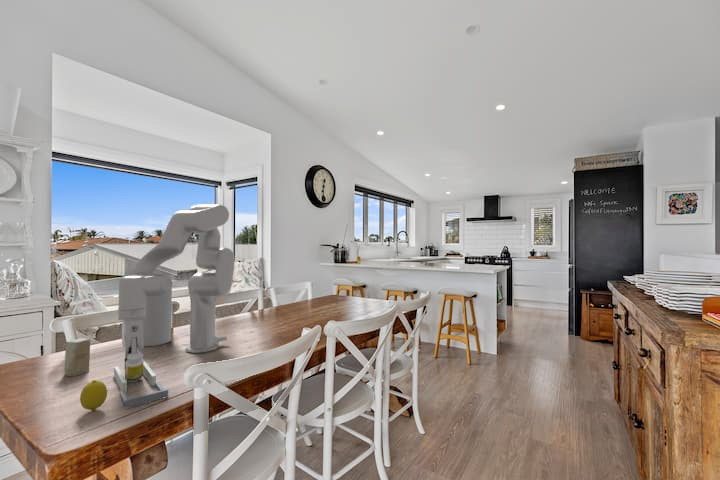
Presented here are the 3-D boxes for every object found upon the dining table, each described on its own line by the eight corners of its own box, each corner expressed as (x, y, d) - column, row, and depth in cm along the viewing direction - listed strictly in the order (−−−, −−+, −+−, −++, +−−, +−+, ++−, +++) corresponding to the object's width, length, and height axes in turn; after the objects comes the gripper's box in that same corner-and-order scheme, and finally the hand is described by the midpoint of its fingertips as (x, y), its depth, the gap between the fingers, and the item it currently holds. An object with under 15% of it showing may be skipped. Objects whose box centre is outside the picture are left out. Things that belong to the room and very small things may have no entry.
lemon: (89, 406, 90) (90, 376, 90) (111, 405, 91) (112, 375, 91) (74, 416, 85) (74, 384, 85) (97, 415, 85) (98, 384, 85)
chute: (144, 369, 116) (144, 360, 116) (155, 385, 104) (156, 375, 104) (114, 376, 110) (114, 366, 110) (122, 393, 98) (122, 383, 98)
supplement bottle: (145, 376, 109) (147, 355, 106) (130, 384, 104) (131, 362, 102) (136, 370, 110) (137, 348, 108) (121, 377, 106) (122, 355, 104)
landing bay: (159, 385, 104) (159, 378, 104) (167, 396, 96) (168, 389, 96) (119, 394, 97) (119, 388, 97) (125, 408, 89) (125, 400, 89)
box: (74, 376, 109) (75, 342, 109) (63, 375, 110) (64, 341, 110) (90, 370, 114) (90, 338, 114) (80, 369, 115) (80, 337, 115)
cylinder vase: (177, 340, 150) (178, 285, 150) (149, 348, 138) (150, 288, 139) (158, 337, 155) (159, 283, 155) (130, 344, 144) (131, 286, 144)
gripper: (150, 316, 107) (148, 373, 106) (141, 308, 118) (140, 361, 117) (121, 319, 101) (119, 380, 101) (115, 311, 113) (113, 366, 112)
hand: (130, 369), depth 109 cm, fingers closed
